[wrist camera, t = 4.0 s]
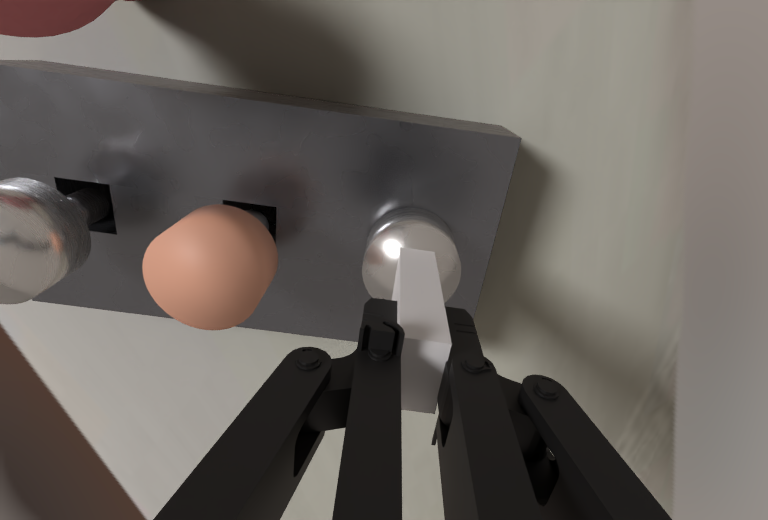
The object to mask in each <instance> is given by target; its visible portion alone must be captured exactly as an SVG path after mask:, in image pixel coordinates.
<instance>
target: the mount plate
mask: <svg viewBox="0 0 768 520" xmlns="http://www.w3.org/2000/svg"><path fill="white" fill-rule="evenodd" d="M520 142H521V138H520V137H519V136H517V135H515V134H514V133H512V132H511V131H509V130H507V129H506V128H504V127H502V126H499V125H492V124H485V123H478V122H471V121H464V120H457V119H449V118H442V117H435V116H428V115H421V114H414V113H407V112H400V111H393V110H386V109H379V108H372V107H365V106H358V105H351V104H344V103H336V102H329V101H322V100H315V99H308V98H301V97H294V96H287V95H280V94H273V93H266V92H259V91H252V90H245V89H238V88H231V87H224V86H216V85H209V84H202V83H195V82H188V81H181V80H174V79H167V78H160V77H153V76H146V75H139V74H132V73H125V72H118V71H111V70H103V69H96V68H89V67H82V66H75V65H68V64H61V63H54V62H47V61H38V60H0V181H1V180H4V179H9V178H18V177H19V178H28V179H33V180H36V181H40V182H42V183H45V184H47V185H49V186H51V187H53V188H54V189H56V190H57V191H59V192H60V193H62V194H63V195H64V196H67V195H69V194H72V193H74V192H77V191H79V190H82V189H84V188H93V189H96V190H98V191H99V192H101V193H102V194H103V195H104V196H105V197H106V198H107V200H108V202H109V206H110V210H109V213H108V215H107V216H106V217H104V218H102V219H100V220H98V221H96V222H94V223H92V224H90V225H89V226H88V228H89V231H90V235H91V251H90V255H89V257H88V259H87V261H86V262H85V263H84V265H83V266H82V267H80V268H79V269H78V270H76V271H74V272H73V273H71V274H70V275H68V276H67V277H65V278H64V279H62V280H60V281H59V282H57V283H56V284H54V285H53V286H51V287H49V288H48V289H46V290H45V291H43V292H42V293H40V294H39V295H37V296H35V297H34V298H32V300H33V301H40V302H48V303H56V304H63V305H71V306H79V307H87V308H95V309H103V310H111V311H119V312H126V313H134V314H142V315H150V316H158V317H166V318H173V317H171V316H170V315H169V314H167V313H166V312H165V311H164V310H163V309H162V308H161V307H160V306H159V305H158V304H157V303H156V302H155V301H154V299H153V298H152V296H151V295H150V293H149V291H148V289H147V287H146V284H145V281H144V277H143V269H142V265H143V258H144V254H145V252H146V250H147V248H148V246H149V245H150V243H151V242H152V241H153V240H154V239H155V238H156V237H157V236H159V235H160V234H161V233H163V232H164V231H166V230H167V229H168V228H170V227H171V226H173V225H174V224H175V223H177V222H178V221H180V220H181V219H182V218H184V217H185V216H187V215H188V214H189V213H191V212H192V211H194V210H196V209H198V208H200V207H203V206H207V205H215V204H221V205H229V206H233V207H236V208H239V209H242V210H244V211H246V210H250V204H258V205H265V206H273V207H277V213H276V225H272V224H269V230H268V231H269V233H270V234H271V236H272V238H273V240H274V242H275V244H276V247H277V252H278V267H277V271H276V274H275V276H274V278H273V280H272V281H271V283H270V285H269V286H268V288H267V290H266V292H265V293H264V295H263V297H262V298H261V300H260V302H259V303H258V305H257V307H256V308H255V310H254V312H253V313H252V314H251V315H250V316H249V318H247V319H246V320H245V321H244V322H242V323H240V324H239V325H236V327H244V328H252V329H260V330H268V331H276V332H284V333H291V334H299V335H307V336H315V337H323V338H331V339H339V340H346V341H354V342H358V339H359V331H360V327H361V324H362V317H363V311H364V304H365V303H366V302H367V301H368V300H369V299H370V298H372V297H371V295H370V294H369V293H368V291H367V289H366V287H365V285H364V281H363V277H362V265H363V259H364V254H365V249H366V243H367V238H368V235H369V233H370V231H371V229H372V228H373V226H374V225H375V223H376V222H377V221H378V220H379V219H381V218H382V217H383V216H385V215H386V214H388V213H390V212H392V211H394V210H398V209H402V208H420V209H424V210H427V211H430V212H432V213H434V214H435V215H437V216H438V217H440V218H441V219H442V220H443V221H444V222H445V223H446V224H447V226H448V227H449V229H450V231H451V233H452V236H453V239H454V242H455V245H456V249H457V252H458V255H459V259H460V262H461V277H460V281H459V284H458V287H457V289H456V291H455V292H454V294H453V295H452V296H451V297H450V298H449V300H447V301H446V302H445V303H444V305H445V306H446V307H454V308H461V309H465V310H466V311H467V312H468V313H469V314H470V315H471V316H472V318H474V315H475V311H476V307H477V303H478V300H479V296H480V292H481V288H482V285H483V281H484V277H485V273H486V270H487V266H488V262H489V258H490V255H491V251H492V247H493V243H494V240H495V236H496V232H497V228H498V225H499V221H500V217H501V213H502V210H503V206H504V202H505V198H506V195H507V191H508V187H509V183H510V180H511V176H512V172H513V168H514V165H515V161H516V157H517V153H518V150H519V146H520ZM174 319H175V318H174Z"/></svg>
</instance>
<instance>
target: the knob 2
mask: <svg viewBox="0 0 768 520" xmlns="http://www.w3.org/2000/svg"><path fill="white" fill-rule="evenodd" d="M268 230H269V223H268V221H267V219H266V217H265V216H264V215H263V214H262V213H260V212H258V211H256V210H246V211H244V210H242V209H239V208H236V207H233V206H229V205H221V204H215V205H207V206H203V207H200V208H198V209H196V210H194V211H192V212H191V213H189V214H188V215H187V216H185V217H184V218H182V219H181V220H180V221H178V222H177V223H175V224H174V225H173V226H171V227H170V228H168V229H167V230H166V231H164V232H163V233H161V234H160V235H159V236H157V237H156V238H155V239H154V240H153V241H152V242H151V243H150V245H149V246H148V248H147V250H146V252H145V254H144V258H143V265H142V269H143V277H144V281H145V284H146V287H147V289H148V291H149V293H150V295H151V296H152V298H153V299H154V301H155V302H156V303H157V304H158V305H159V306H160V307H161V308H162V309H163V310H164V311H165V312H166V313H167V314H169V315H170V316H171V317H173V318H175V319H176V320H178V321H180V322H182V323H184V324H186V325H189V326H192V327H195V328H199V329H204V330H222V329H228V328H231V327H234V326H236V325H239V324H240V323H242V322H244V321H245V320H246V319H247V318H249V316H250V315H251V314H252V313H253V312H254V310H255V308H256V307H257V305H258V303H259V302H260V300H261V298H262V297H263V295H264V293H265V292H266V290H267V288H268V286H269V285H270V283H271V281H272V280H273V278H274V276H275V274H276V271H277V267H278V252H277V247H276V244H275V242H274V240H273V238H272V236H271V234H270V233H269V231H268Z"/></svg>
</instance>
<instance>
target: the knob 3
mask: <svg viewBox="0 0 768 520" xmlns="http://www.w3.org/2000/svg"><path fill="white" fill-rule="evenodd" d="M400 247H402V248H410V249H417V250H424V251H432V252H435V257H436V262H437V268H438V273H439V278H440V284H441V289H442V294H443V300H444V303H445V302H446V301H447V300H449V298H450V297H451V296H452V295H453V294H454V292H455V291H456V289H457V287H458V284H459V281H460V277H461V262H460V259H459V255H458V252H457V249H456V245H455V242H454V239H453V236H452V233H451V231H450V229H449V227H448V226H447V224H446V223H445V222H444V221H443V220H442V219H441V218H440V217H438V216H437V215H435V214H434V213H432V212H430V211H427V210H424V209H420V208H402V209H398V210H394V211H392V212H390V213H388V214H386V215H385V216H383V217H382V218H381V219H379V220H378V221H377V222H376V223H375V225H374V226H373V228H372V229H371V231H370V233H369V235H368V238H367V243H366V249H365V254H364V259H363V265H362V277H363V281H364V285H365V287H366V289H367V291H368V293H369V294H370V295H371V297H372V298H378V299H386V300H392V295H393V289H394V283H395V276H396V270H397V264H398V258H399V252H400Z"/></svg>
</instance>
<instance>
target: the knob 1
mask: <svg viewBox="0 0 768 520" xmlns="http://www.w3.org/2000/svg"><path fill="white" fill-rule="evenodd" d="M109 210H110V206H109V202H108V200H107V198H106V197H105V196H104V195H103V194H102V193H101V192H99V191H98V190H96V189H93V188H84V189H82V190H79V191H77V192H74V193H72V194H69V195H67V196H64V195H63V194H62V193H60V192H59V191H57V190H56V189H54V188H53V187H51V186H49V185H47V184H45V183H42V182H40V181H36V180H33V179H28V178H19V177H18V178H9V179H4V180H1V181H0V304H18V303H23V302H26V301H28V300H30V299H32V298H34V297H35V296H37V295H39V294H40V293H42V292H43V291H45V290H46V289H48V288H49V287H51V286H53V285H54V284H56V283H57V282H59V281H60V280H62V279H64V278H65V277H67V276H68V275H70V274H71V273H73V272H74V271H76V270H78V269H79V268H80V267H82V266H83V265H84V263H85V262H86V261H87V259H88V257H89V255H90V251H91V235H90V231H89V228H88V226H89V225H90V224H92V223H94V222H96V221H98V220H100V219H102V218H104V217H106V216H107V215H108V213H109Z"/></svg>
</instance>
